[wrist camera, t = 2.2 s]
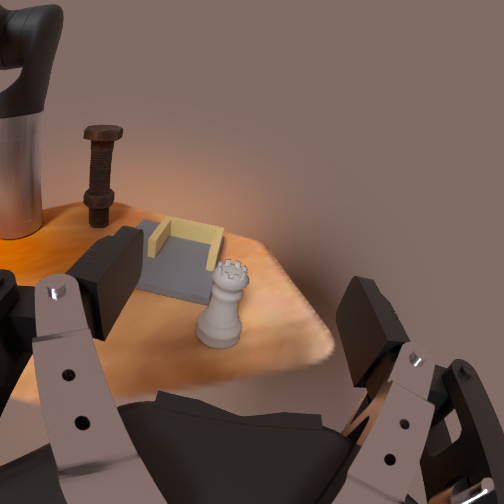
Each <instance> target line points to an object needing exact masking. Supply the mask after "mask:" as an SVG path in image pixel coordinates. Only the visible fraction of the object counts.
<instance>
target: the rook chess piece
mask: <svg viewBox="0 0 504 504" xmlns="http://www.w3.org/2000/svg"><path fill="white" fill-rule="evenodd" d="M223 263H224V262H223V261H220V262H219V263H218V266H217V267H216V268H215V269H214V270H213V271H212V273H211V276H212V279H213V281H214V282H215V283H214V284H213V285H212V287H211V291H212V293H213V294H212V297H211V300H210V303H209V305H208V307H207V308H206V309H205V310H204V311H203V312H202V313H201V314H200V315H199V317H198V320H197V323H196V327H195V331H196V334H197V337H198V338H199V339H200V340H201V341H202V342H203V343H204V344H206V345H207V346H209V347H211V348H216V349H223V348H228V347H231V346H233V345H235V344H236V343H237V342H238V340H239V339H240V333H241V322H240V320H239V316H238V314H237V310H238V303H239V300H240V299H241V298H242V296H243V291H242V289H243V288H245V287H246V286H247V285H248V284H249V277H248V276H247V267H246V266H243V267H242V268H241V262H239V261H237V260H236V263H235V265H234V264H231V259H225V264H223Z"/></svg>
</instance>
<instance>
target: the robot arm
mask: <svg viewBox="0 0 504 504" xmlns="http://www.w3.org/2000/svg"><path fill="white" fill-rule="evenodd" d="M63 18H64V17H63V11H62V8H61V7H60V6H59V5H55V4H52V5H43V6H36V7H30V8H25V9H21V10H7V9H5V8H4V7H2V6H1V5H0V70H8V69H14V68H21V67H23V69H22V71H21V74H20V76H19V78H18V79H17V80H16V81H15V82H14V83H13V84H12V85H11V86H10V87H8V88H7V89H6V90H4V91H2V92H1V93H0V238H1V239H17V238H21V237H24V236H27V235H29V234H31V233H33V232H35V231H36V230H38V229H39V228H40V227H41V225H42V223H43V216H42V201H41V138H42V123H43V112H44V111H43V110H44V102H45V98H46V94H47V90H48V85H49V79H50V74H51V69H52V65H53V61H54V57H55V54H56V50H57V47H58V43H59V40H60V36H61V31H62V27H63ZM143 243H144V232H143V230H142V229H138V228H133V227H129V226H122V227H121V228H120V229H119V230H118V231H117V232H116V233H115V234H114V235H113V236H109V235H108V236H106V237H104V238H102V239H100V240H97V241H96V242H95V243H94V244H93V245H92V246H91V247H90V249H88V250H87V251H86V252H85V253H84V255H82V257H81V258H80V259H79V260H78V261H77V262H76V263H75V264H74V265H73V266H72V267H71V268H70V269H69V270H68V271H67V272H66V273H65V274H52V275H49V276H46V277H44V278H43V279H41V280H40V281H39V282H38V283H37V285H36V287H31V286H18V285H17V283H16V279H15V276H14V274H13V273H12V272H11V271H9V270H4V269H0V417H1V414H2V412H3V410H4V408H5V406H6V403H7V401H8V399H9V397H10V395H11V393H12V391H13V389H14V387H15V385H16V383H17V381H18V379H19V378H20V376H21V374H22V372H23V370H24V368H25V366H26V365H27V363H28V361H29V359H30V358H31V356H32V354H33V357H34V365H35V373H36V380H37V386H38V392H39V398H40V403H41V408H42V412H43V417H44V421H45V425H46V429H47V433H48V437H49V441H50V443H49V444H46V445H45V446H42V447H41V448H39V449H36V450H35V451H32V452H30V453H28V454H26V455H24V456H22V457H20V458H18V459H16V460H13V461H11V462H9V463H7V464H4V465H2V466H0V504H418V503H417V502H416V501H415V500H414V499H413V498H411V497H410V496H409V495H408V494H407V492H408V490H409V488H410V485H411V483H412V480H413V478H414V475H415V472H416V469H417V467H418V464H419V462H420V466H421V471H422V476H423V481H424V486H425V492H426V498H427V504H504V433H503V431H502V428H501V425H500V423H499V420H498V418H497V416H496V413H495V411H494V409H493V406H492V404H491V402H490V400H489V398H488V395H487V393H486V391H485V389H484V387H483V385H482V382H481V380H480V378H479V377H478V374H477V372H476V371H475V369H474V368H473V367H472V366H471V365H470V364H469V363H467V362H466V361H464V360H461V359H456V360H454V361H453V362H452V363H451V365H450V366H449V367H448V368H444V367H441V366H438V365H435V362H434V359H433V357H432V355H431V354H430V353H429V351H428V350H427V349H425V348H424V347H423V346H421V345H419V344H417V343H413V342H410V340H409V338H408V336H407V334H406V332H405V330H404V328H403V326H402V324H401V322H400V321H399V320H398V317H397V315H396V313H394V312H395V311H394V309H393V307H392V305H391V303H390V302H389V301H388V300H387V299H386V298H385V297H384V296H383V295H382V294H381V293H380V291H379V289H378V287H377V286H376V284H375V282H374V280H372V279H368V278H363V277H358V276H354V277H353V278H352V279H351V281H350V283H349V285H348V287H347V290H346V292H345V294H344V296H343V298H342V300H341V302H340V304H339V306H338V309H337V312H336V324H337V327H338V331H339V334H340V338H341V341H342V345H343V348H344V352H345V356H346V359H347V363H348V366H349V370H350V374H351V378H352V382H353V385H354V387H359V388H360V387H362V388H367V392H366V393H365V395H364V396H363V397H362V399H361V401H360V403H359V404H358V406H357V408H356V410H355V411H354V413H353V414H352V416H351V418H350V419H349V421H348V423H347V424H346V426H345V428H344V429H343V431H342V432H341V433H339V432H336V431H335V430H332V429H330V428H327V427H324V426H322V419H321V415H318V414H317V415H316V414H299V413H287V412H282V413H275V414H266V415H256V416H245V417H243V416H238V415H235V414H232V413H230V412H227V411H225V410H222V409H220V408H217V407H215V406H212V405H210V404H207V403H205V402H203V401H200V400H197V399H192V398H187V397H183V396H178V395H174V394H170V393H166V392H162V391H158V393H157V396H156V400H155V401H154V402H153V401H145V402H135V403H129V404H126V405H122V406H119V407H116V405H115V403H114V400H113V398H112V395H111V392H110V390H109V387H108V384H107V382H106V379H105V376H104V373H103V370H102V367H101V364H100V361H99V358H98V355H97V352H96V349H95V345H94V342H93V338H95V339H98V340H101V341H104V342H105V340H106V338H107V336H108V334H109V332H110V331H111V329H112V327H113V325H114V323H115V321H116V320H117V318H118V316H119V314H120V313H121V311H122V309H123V307H124V306H125V304H126V302H127V300H128V299H129V297H130V295H131V294H132V292H133V290H134V289H135V287H136V285H137V284H138V282H139V280H140V277H141V273H142V266H143ZM453 409H456V412H457V415H458V418H459V421H460V424H461V428H462V431H461V435H460V437H459V438H458V439H457V440H456V441H455V442H454V443H453V444H452V442H451V439H450V435H449V432H448V429H447V426H446V423H445V420H444V418H445V417H446V416H447V415H448V414H449V413H450V412H452V411H453Z"/></svg>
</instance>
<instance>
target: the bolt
mask: <svg viewBox="0 0 504 504" xmlns="http://www.w3.org/2000/svg"><path fill="white" fill-rule="evenodd" d="M122 134H123V129H122V128H121V127H119V126H113V125H94V126H88V127H87V128H86V129H85V131H84V139H88V140H91V154H92V155H91V160H90V161H91V162H90V163H91V164H90V180H89V181H90V182H89V183H90V184H89V189H88V190H87V191H86V192H85V194H84V204H85V205H86V206H87V207H89V224H90V226H91V227H93V228H104V227H106V226H107V225H108V223H109V219H108V218H109V217H108V216H109V207H110V206H111V205H112V204H113V201H114V191H112V190H111V189H110V173H111V172H110V171H111V160H112V152H113V147H114V141H116V140H119V139H120V138H121V137H122Z"/></svg>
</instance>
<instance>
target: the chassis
mask: <svg viewBox="0 0 504 504" xmlns="http://www.w3.org/2000/svg"><path fill="white" fill-rule="evenodd" d="M136 228H138V229H142V230H143V232H144V243H143V266H142V273H141V277H140V280H139V282H138V284H137V285H136V287H135V288H137V289H141V290H144V291H148V292H152V293H156V294H160V295H164V296H169V297H173V298H177V299H181V300H185V301H190V302H194V303H199V304H203V305H208V303H209V299H210V295H211V287H212V285H213V282H214V281H213V279H212V276H211V273H212V271H213V270H214V269H215V268H216V267H217V266H218V262H219V258H220V254H221V250H222V246H223V242H224V237H222V236H223V232H224V228H222V227H218V226H213V225H209V224H204V223H199V222H195V221H190V220H185V219H181V218H176V217H171V216H167V215H166V216H165V218H164V219H163V220H162V221H161V223H158V222H153V221H149V220H144V219H143V220H142V221H141V222H140V224H139V225H138V226H137V227H136Z"/></svg>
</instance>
